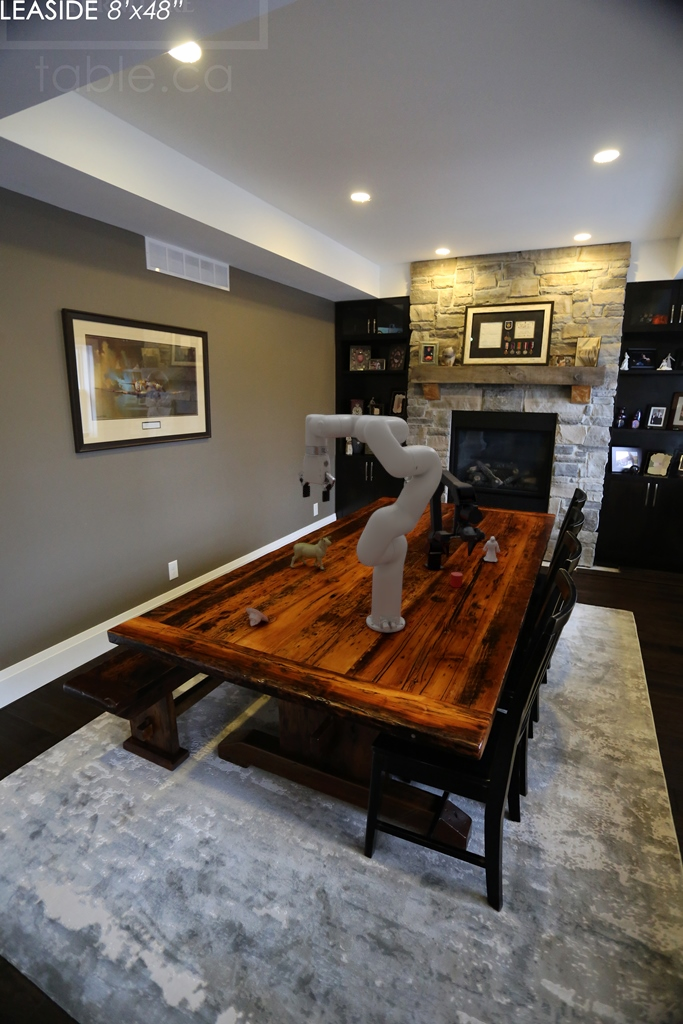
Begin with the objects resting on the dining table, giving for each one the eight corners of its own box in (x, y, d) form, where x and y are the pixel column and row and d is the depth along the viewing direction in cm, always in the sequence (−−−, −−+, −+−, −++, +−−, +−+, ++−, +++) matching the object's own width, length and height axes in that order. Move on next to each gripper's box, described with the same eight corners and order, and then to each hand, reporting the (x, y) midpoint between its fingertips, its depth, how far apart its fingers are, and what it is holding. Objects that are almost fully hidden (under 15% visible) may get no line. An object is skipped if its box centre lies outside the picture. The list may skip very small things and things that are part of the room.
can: (456, 582, 199) (457, 571, 198) (464, 586, 195) (465, 575, 194) (447, 584, 197) (448, 572, 196) (455, 588, 193) (455, 576, 192)
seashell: (251, 634, 162) (235, 615, 161) (262, 623, 165) (246, 604, 164) (262, 630, 156) (245, 610, 155) (273, 618, 159) (257, 599, 158)
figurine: (481, 562, 222) (483, 536, 219) (482, 556, 230) (484, 531, 227) (499, 564, 220) (501, 538, 217) (499, 558, 228) (501, 533, 225)
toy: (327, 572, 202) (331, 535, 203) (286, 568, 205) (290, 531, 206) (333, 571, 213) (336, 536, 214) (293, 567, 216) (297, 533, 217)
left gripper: (342, 452, 169) (341, 501, 174) (306, 447, 181) (306, 494, 185) (327, 454, 164) (326, 505, 168) (291, 449, 175) (291, 497, 179)
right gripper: (448, 524, 179) (445, 565, 183) (494, 521, 184) (491, 562, 188) (435, 516, 190) (432, 555, 194) (479, 514, 195) (476, 552, 198)
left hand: (316, 499), depth 176 cm, fingers open, 9 cm apart
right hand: (458, 556), depth 193 cm, fingers open, 9 cm apart
